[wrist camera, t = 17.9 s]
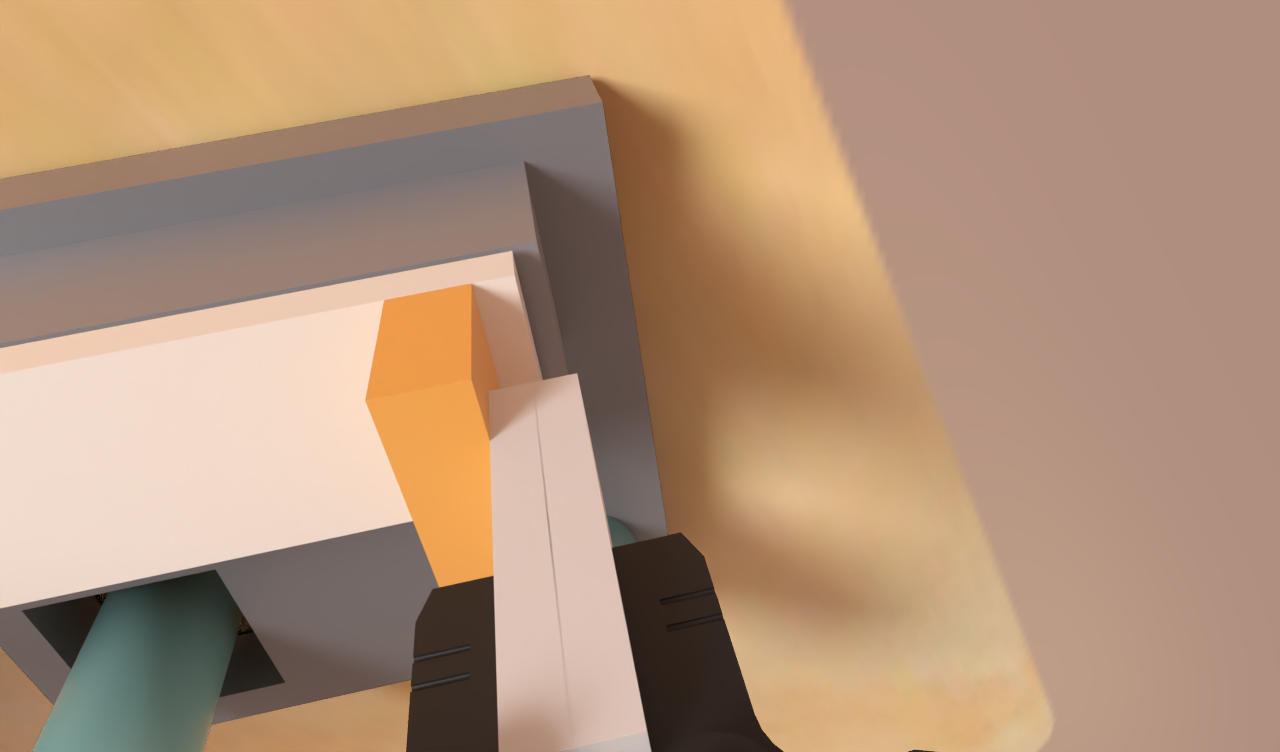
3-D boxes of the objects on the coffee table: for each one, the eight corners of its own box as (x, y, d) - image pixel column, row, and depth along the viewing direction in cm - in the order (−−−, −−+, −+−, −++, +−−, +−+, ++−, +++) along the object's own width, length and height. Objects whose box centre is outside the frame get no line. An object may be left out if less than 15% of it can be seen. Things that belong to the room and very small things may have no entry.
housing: (121, 686, 29) (-68, 1147, 19) (-254, 223, 19) (-1105, 681, 9) (666, 566, 31) (764, 935, 20) (589, 75, 20) (708, 320, 10)
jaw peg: (92, 557, 26) (-83, 892, 18) (220, 530, 26) (106, 848, 18) (151, 637, 28) (19, 966, 20) (268, 611, 28) (185, 926, 20)
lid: (-213, 619, 17) (-382, 814, 13) (-425, 428, 14) (-706, 615, 10) (561, 458, 18) (581, 601, 14) (512, 251, 15) (523, 368, 12)
